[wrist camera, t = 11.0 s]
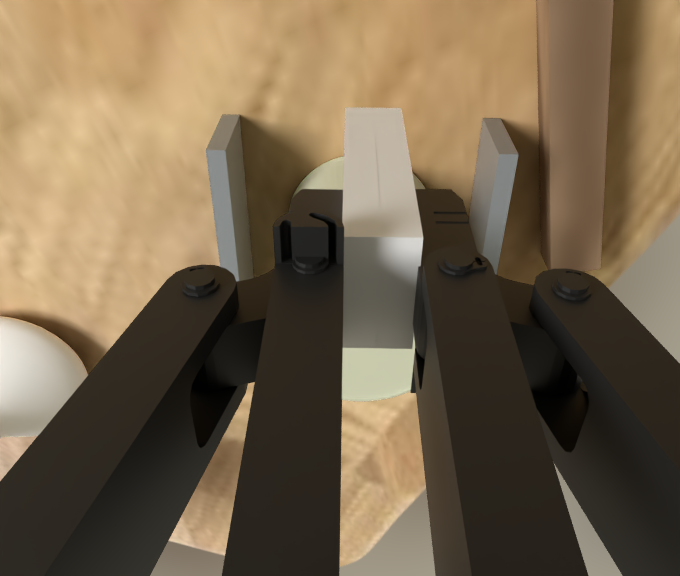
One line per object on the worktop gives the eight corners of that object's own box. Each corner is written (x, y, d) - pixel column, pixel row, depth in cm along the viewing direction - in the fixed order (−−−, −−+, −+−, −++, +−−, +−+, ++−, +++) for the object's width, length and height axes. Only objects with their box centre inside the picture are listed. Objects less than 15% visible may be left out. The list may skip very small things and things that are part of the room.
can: (307, 136, 37) (290, 244, 28) (454, 174, 39) (488, 291, 29) (275, 262, 43) (251, 390, 33) (405, 292, 44) (420, 424, 34)
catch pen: (244, 329, 46) (234, 377, 42) (222, 114, 37) (205, 150, 33) (465, 332, 46) (476, 381, 42) (500, 118, 36) (518, 154, 32)
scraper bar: (539, 250, 42) (550, 275, 40) (534, -49, 32) (548, -39, 29) (586, 243, 42) (600, 268, 39) (595, -62, 31) (616, -53, 29)
